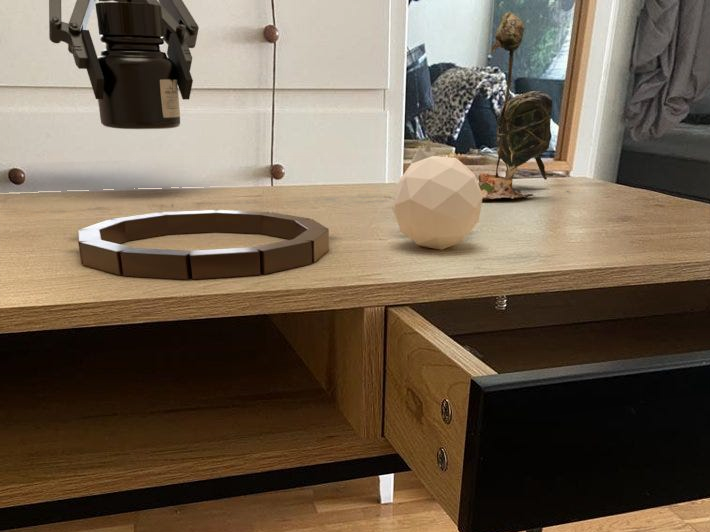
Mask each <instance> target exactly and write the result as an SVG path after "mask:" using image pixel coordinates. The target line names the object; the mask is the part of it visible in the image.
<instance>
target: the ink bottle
mask: <svg viewBox="0 0 710 532" xmlns="http://www.w3.org/2000/svg"><path fill="white" fill-rule="evenodd" d="M94 7H95V13H96V21H97V22H96V23H97V30H98V36H101V37H100V38H99V40H100V41H99V42H100V43H101V44H103V45H104V46H105V48H104V49H103V50H100V55H99V56H97V57H98V61H99V64H100V67H101V70H102V73H103V76H104V93H103V99H97V107H98V113H99V121H100V125H102V126H103V127H105V128H111V129H117V130H118V129H119V130H168V129H169V130H170V129H176V128H178V127H180V125H181V110H180V98H179V87H178V84H177V74H176V67H175V64H174V62H173V61H172V60H171V59H169V58H168V55H167V52H164V51H162V50H161V47H162V46H163V45H164V44H165V41H164V40H163V39H162V38H163V37H164V34H163V22H162V11H161V6H160V5H155V4H145V3H130V2H116V1H106V2H105V1H100V2H96V3H95V6H94Z"/></svg>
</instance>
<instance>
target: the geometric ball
mask: <svg viewBox="0 0 710 532" xmlns="http://www.w3.org/2000/svg"><path fill="white" fill-rule="evenodd" d="M478 183H479V181H478V179H477V177H476V174H474V172H473V171H471V170H470V169H469V168H468V167H467V166H466V165H465V164H464V163H463V162H461V161H460V160H459V158H457V157H451V156H450V157H449V156H439V155H438V156H431V157H429V158H426V159H423V160H420V161H417V162H415V163H412V164H411V163H410V165H409V166H408V167H407V169H406V170H405V172H404V173H403V174H402V175H401V177H400V178H399V179H398V181H397V182H396V184H395V189H394V200H393V208H392V211H393V214H394V218H395V220H396V223H397V226H398V228H399V232H401V233H402V234H403V235H404V236H406V237H407V238H408V239H409V240H411V241H412V242H414V243H415V244H416V245H417V246H418V247H423V248H427V249H429V248H430V249H433V250H434V249H435V250H441V251H442V250H444V249H447V248H449V247H452V246H454V245H457V244H461V243H462V242H464V241H465V239H467V237H468V236H469V234H470V233H471V232H472V231H473V230H474V228H475V227H476V225H478V223H479V221H480V216H481V211H482V210H481V209H482V205H483V199H484V198H483V195H482V192H481V190H480V187H479V184H478Z"/></svg>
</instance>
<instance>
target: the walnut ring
mask: <svg viewBox="0 0 710 532" xmlns="http://www.w3.org/2000/svg"><path fill="white" fill-rule="evenodd" d="M202 233H203V234H207V233H227V234H228V233H232V234H252V235H264V236H265V235H266V236H270V237H276V238H280V239H285V240H282V241H281V240H280V241H275V242H271V243H266V244H260V245H256V246H249V247H231V248H213V249H197V250H187V249H170V248H169V249H167V248H149V247H148V248H146V247H132V246H128V245H124V244H123V243H126V242H130V241H136V240H137V241H138V240H142V239H149V238H155V237H161V236H167V235H185V234H202ZM77 244H78V249H79V257H80V262H81V264H82V265H83V266H85V267H88V268H92V269H96V270H98V271H103V272H106V273H110V274H113V275H117V276H124V277H134V278H147V279H149V278H150V279H166V280H167V279H169V280H185V281H187V280H190V279H192V280H208V279H221V278H223V279H224V278H235V277H236V278H238V277H252V276H253V277H254V276H261V275H269V274H272V273H273V274H274V273H278V272H281V271H286V270H291V269H294V268H299V267H303V266H308V265H311V264H315V263H316V262H317V261H318V260H320V259H321V258H322V257H323V256H324V255H325V254H327V253H329V251H330V229H329V227H326V226H325V225H323V224H321V223H320V222H318V221H316V220H315V219H313V218H309V217H304V216H298V215H292V214H286V213H279V212H273V211H272V212H270V211H256V210H255V211H254V210H253V211H252V210H232V209H231V210H230V209H218V210H216V209H209V210H207V209H206V210H205V209H204V210H182V211H181V210H180V211H162V212H152V213H145V214H137V215H130V216H123V217H118V218H117V217H116V218H111V219H106V220H103V221H101V222H97V223H95V224H92V225H88V226H85V227H83V228H79V230H77Z"/></svg>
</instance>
